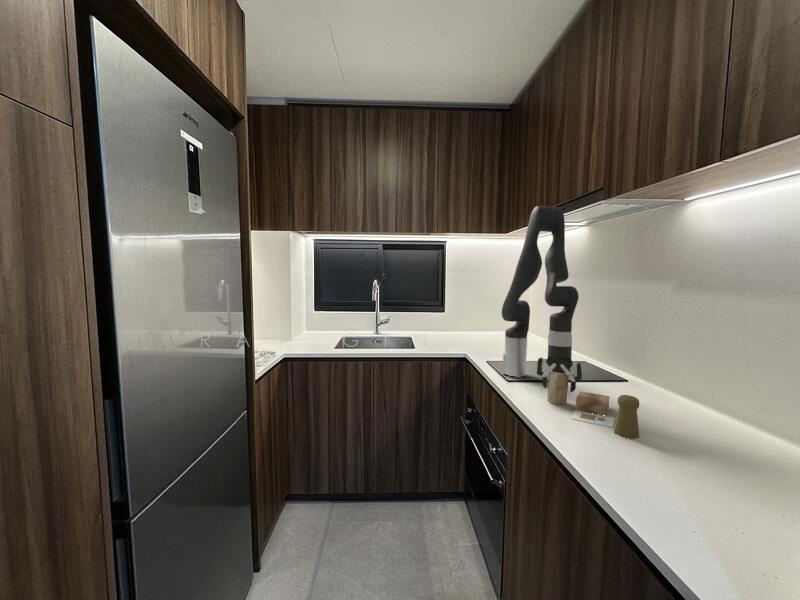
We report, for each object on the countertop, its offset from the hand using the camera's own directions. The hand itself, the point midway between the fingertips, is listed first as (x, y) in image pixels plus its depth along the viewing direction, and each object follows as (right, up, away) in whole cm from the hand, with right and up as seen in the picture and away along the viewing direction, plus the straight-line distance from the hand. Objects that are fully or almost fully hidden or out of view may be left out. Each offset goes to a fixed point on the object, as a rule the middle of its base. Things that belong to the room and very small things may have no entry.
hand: (558, 389), depth 125 cm
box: (0, -5, +1) cm, 5 cm away
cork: (+9, -7, -24) cm, 27 cm away
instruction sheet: (+5, -6, -14) cm, 15 cm away
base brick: (+9, -5, -5) cm, 12 cm away
